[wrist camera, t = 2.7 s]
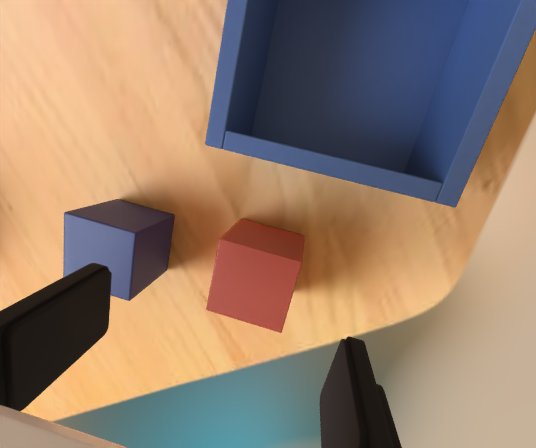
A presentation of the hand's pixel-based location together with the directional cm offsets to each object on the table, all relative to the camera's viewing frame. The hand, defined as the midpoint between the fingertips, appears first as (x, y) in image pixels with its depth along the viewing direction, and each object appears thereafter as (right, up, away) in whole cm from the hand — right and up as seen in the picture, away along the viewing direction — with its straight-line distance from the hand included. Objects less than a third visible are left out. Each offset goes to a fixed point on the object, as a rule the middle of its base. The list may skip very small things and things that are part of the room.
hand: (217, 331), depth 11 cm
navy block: (-7, +3, +9) cm, 12 cm away
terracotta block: (+2, +2, +8) cm, 9 cm away
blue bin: (+6, +13, +4) cm, 15 cm away
